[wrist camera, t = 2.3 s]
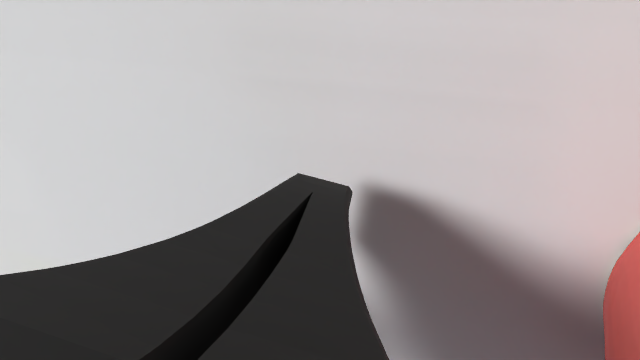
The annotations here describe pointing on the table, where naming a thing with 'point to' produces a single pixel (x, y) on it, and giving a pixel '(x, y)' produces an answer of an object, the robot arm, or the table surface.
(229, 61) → the table surface
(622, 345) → the flower pot
